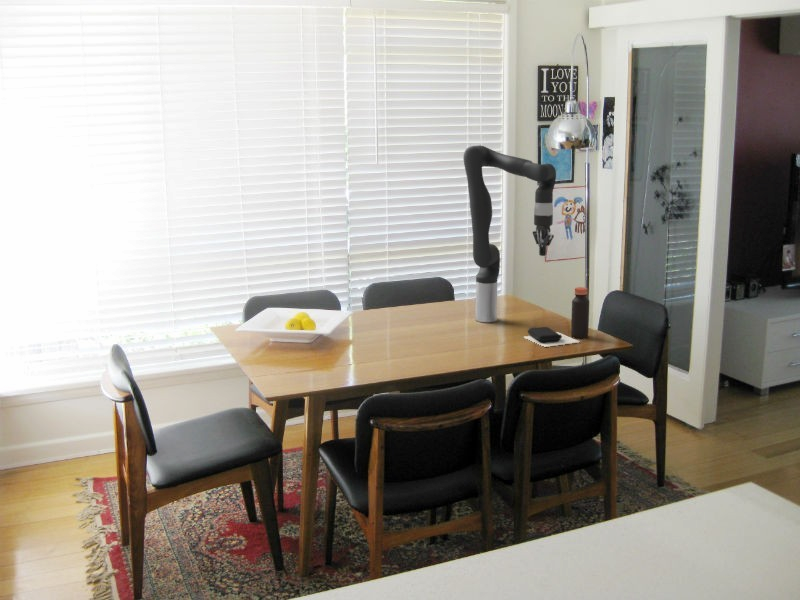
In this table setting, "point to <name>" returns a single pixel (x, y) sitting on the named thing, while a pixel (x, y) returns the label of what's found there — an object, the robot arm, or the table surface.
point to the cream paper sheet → (562, 341)
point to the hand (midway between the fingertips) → (542, 255)
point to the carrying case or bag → (544, 334)
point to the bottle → (580, 314)
